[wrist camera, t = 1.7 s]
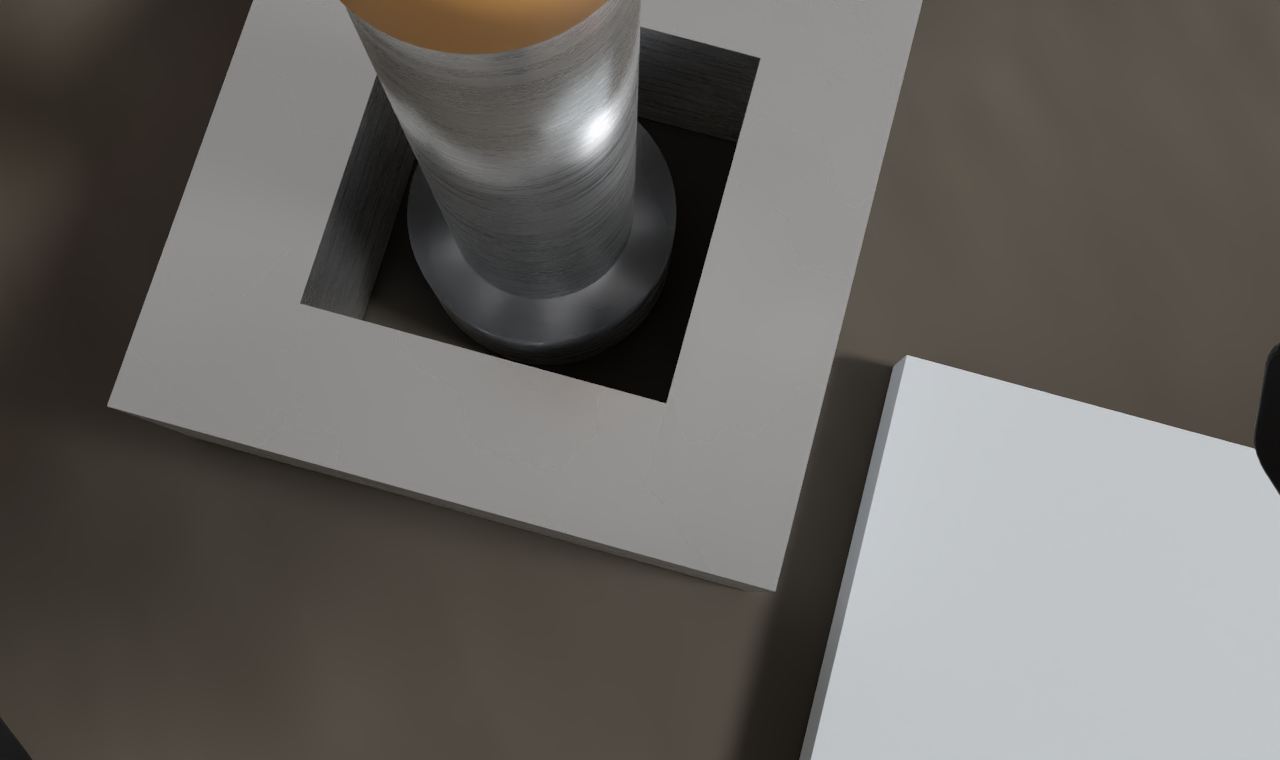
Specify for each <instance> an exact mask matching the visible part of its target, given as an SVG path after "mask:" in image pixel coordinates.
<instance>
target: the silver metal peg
mask: <svg viewBox="0 0 1280 760" xmlns="http://www.w3.org/2000/svg"><path fill="white" fill-rule="evenodd" d="M340 1H341V3H343V4H344V5H345V7H346V9H347V12H348V14H349V16H350V18H351V20H352V22H353V24H354V27H355V29H356V31H357V33H358V35H359V37H360V39H361V41H362V44H363V46H364V48H365V50H366V52H367V54H368V56H369V59H370V61H371V63H372V65H373V67H374V69H375V71H376V73H377V76H378V78H379V80H380V82H381V84H382V86H383V88H384V91H385V93H386V95H387V97H388V99H389V101H390V103H391V105H392V108H393V110H394V112H395V114H396V116H397V118H398V120H399V123H400V125H401V127H402V129H403V131H404V133H405V135H406V137H407V140H408V142H409V144H410V146H411V148H412V150H413V152H414V155H415V157H416V159H417V161H418V165H417V167H416V170H415V172H414V175H413V178H412V182H411V186H410V190H409V197H408V206H407V221H408V231H409V237H410V243H411V246H412V249H413V252H414V256H415V259H416V261H417V263H418V265H419V267H420V269H421V272H422V274H423V275H424V277H425V279H426V280H427V282H428V283H429V285H430V287H431V288H432V290H433V292H434V293H435V295H436V296H437V298H438V300H439V301H440V303H441V304H442V306H443V308H444V309H445V311H446V312H447V314H448V315H449V317H450V318H451V319H452V320H453V322H454V323H455V324H456V325H457V326H458V327H459V328H460V330H462V331H463V332H464V333H465V334H466V335H467V336H468V337H470V338H471V339H472V340H473V341H475V342H476V343H478V344H479V345H481V346H482V347H484V348H485V349H487V350H489V351H491V352H493V353H495V354H497V355H499V356H502V357H505V358H508V359H511V360H513V361H517V362H522V363H527V364H535V365H563V364H568V363H574V362H579V361H582V360H585V359H588V358H592V357H595V356H597V355H599V354H601V353H603V352H605V351H607V350H609V349H611V348H613V347H614V346H616V345H617V344H619V343H620V342H622V341H623V340H625V339H626V338H627V337H628V336H629V335H630V334H632V333H633V332H634V331H635V330H636V329H637V328H638V327H639V326H640V325H641V324H642V322H643V321H644V320H645V319H646V318H647V316H648V315H649V313H650V312H651V311H652V309H653V308H654V306H655V304H656V303H657V301H658V299H659V297H660V295H661V293H662V290H663V287H664V285H665V282H666V279H667V275H668V270H669V266H670V260H671V254H672V247H673V241H674V234H675V226H676V197H675V191H674V186H673V181H672V177H671V174H670V171H669V169H668V166H667V163H666V161H665V159H664V157H663V155H662V153H661V151H660V149H659V147H658V146H657V144H656V143H655V142H654V140H653V139H652V137H651V136H650V134H649V133H648V132H647V131H646V130H645V129H644V128H643V127H642V125H641V124H640V123H639V122H638V121H637V107H638V79H639V51H640V24H641V0H340Z"/></svg>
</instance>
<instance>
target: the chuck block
mask: <svg viewBox="0 0 1280 760" xmlns="http://www.w3.org/2000/svg"><path fill="white" fill-rule="evenodd" d="M922 1H923V0H641V24H640V51H639V79H638V107H637V116H638V117H642V118H645V119H649V120H653V121H657V122H661V123H664V124H668V125H672V126H676V127H679V128H683V129H687V130H691V131H694V132H698V133H702V134H706V135H710V136H713V137H717V138H721V139H725V140H728V141H732V142H736V143H737V147H736V150H735V154H734V158H733V161H732V165H731V169H730V172H729V176H728V180H727V183H726V187H725V190H724V194H723V198H722V201H721V205H720V209H719V212H718V216H717V220H716V223H715V227H714V231H713V234H712V238H711V242H710V245H709V249H708V253H707V256H706V260H705V264H704V267H703V271H702V275H701V278H700V282H699V286H698V289H697V293H696V297H695V300H694V304H693V308H692V311H691V315H690V319H689V322H688V326H687V330H686V333H685V337H684V340H683V344H682V348H681V351H680V355H679V359H678V362H677V366H676V370H675V373H674V377H673V381H672V384H671V388H670V392H669V395H668V399H667V403H663V402H659V401H655V400H652V399H648V398H644V397H641V396H637V395H633V394H630V393H626V392H622V391H619V390H615V389H611V388H608V387H604V386H600V385H597V384H593V383H589V382H586V381H582V380H578V379H575V378H571V377H567V376H564V375H560V374H556V373H553V372H549V371H545V370H542V369H538V368H534V367H531V366H527V365H523V364H520V363H516V362H512V361H509V360H505V359H501V358H498V357H494V356H490V355H487V354H483V353H479V352H476V351H472V350H468V349H465V348H461V347H457V346H454V345H450V344H446V343H443V342H439V341H435V340H432V339H428V338H425V337H421V336H417V335H414V334H410V333H406V332H403V331H399V330H395V329H392V328H388V327H384V326H381V325H377V324H373V323H370V322H366V321H363V318H364V315H365V312H366V309H367V306H368V303H369V300H370V297H371V294H372V291H373V288H374V284H375V281H376V278H377V275H378V272H379V269H380V266H381V263H382V260H383V257H384V254H385V251H386V248H387V244H388V241H389V238H390V235H391V232H392V229H393V226H394V223H395V220H396V217H397V214H398V211H399V208H400V204H401V201H402V198H403V195H404V192H405V189H406V186H407V183H408V180H409V177H410V174H411V171H412V168H413V164H414V161H415V158H416V157H415V155H414V152H413V150H412V148H411V146H410V144H409V142H408V140H407V137H406V135H405V133H404V131H403V129H402V127H401V125H400V123H399V120H398V118H397V116H396V114H395V112H394V110H393V108H392V105H391V103H390V101H389V99H388V97H387V95H386V93H385V91H384V88H383V86H382V84H381V82H380V80H379V78H378V76H377V73H376V71H375V69H374V67H373V65H372V63H371V61H370V59H369V56H368V54H367V52H366V50H365V48H364V46H363V44H362V41H361V39H360V37H359V35H358V33H357V31H356V29H355V27H354V24H353V22H352V20H351V18H350V16H349V14H348V12H347V9H346V7H345V5H344V4H343V3H341V1H340V0H253V2H252V5H251V8H250V11H249V13H248V16H247V19H246V22H245V25H244V27H243V30H242V33H241V36H240V38H239V41H238V44H237V47H236V50H235V52H234V55H233V58H232V61H231V63H230V66H229V69H228V72H227V74H226V77H225V80H224V83H223V86H222V88H221V91H220V94H219V97H218V99H217V102H216V105H215V108H214V111H213V113H212V116H211V119H210V122H209V124H208V127H207V130H206V133H205V136H204V138H203V141H202V144H201V147H200V149H199V152H198V155H197V158H196V160H195V163H194V166H193V169H192V172H191V174H190V177H189V180H188V183H187V185H186V188H185V191H184V194H183V197H182V199H181V202H180V205H179V208H178V210H177V213H176V216H175V219H174V221H173V224H172V227H171V230H170V233H169V235H168V238H167V241H166V244H165V246H164V249H163V252H162V255H161V258H160V260H159V263H158V266H157V269H156V271H155V274H154V277H153V280H152V282H151V285H150V288H149V291H148V294H147V296H146V299H145V302H144V305H143V307H142V310H141V313H140V316H139V319H138V321H137V324H136V327H135V330H134V332H133V335H132V338H131V341H130V343H129V346H128V349H127V352H126V355H125V357H124V360H123V363H122V366H121V368H120V371H119V374H118V377H117V380H116V382H115V385H114V388H113V391H112V393H111V396H110V399H109V402H108V404H107V406H108V407H110V408H113V409H116V410H119V411H121V412H124V413H127V414H130V415H132V416H135V417H138V418H141V419H143V420H146V421H149V422H152V423H154V424H157V425H160V426H163V427H165V428H168V429H171V430H174V431H176V432H179V433H182V434H185V435H187V436H190V437H193V438H196V439H200V440H204V441H207V442H211V443H214V444H218V445H222V446H225V447H229V448H232V449H236V450H240V451H243V452H247V453H250V454H254V455H258V456H261V457H265V458H268V459H272V460H276V461H279V462H283V463H286V464H290V465H294V466H297V467H301V468H304V469H308V470H312V471H315V472H319V473H322V474H326V475H330V476H333V477H337V478H341V479H344V480H348V481H351V482H355V483H359V484H362V485H366V486H369V487H373V488H377V489H380V490H384V491H387V492H391V493H395V494H398V495H402V496H405V497H409V498H413V499H416V500H420V501H423V502H427V503H431V504H434V505H438V506H441V507H445V508H449V509H452V510H456V511H459V512H463V513H467V514H470V515H474V516H477V517H481V518H485V519H488V520H492V521H496V522H499V523H503V524H506V525H510V526H514V527H517V528H521V529H524V530H528V531H532V532H535V533H539V534H542V535H546V536H550V537H553V538H557V539H560V540H564V541H568V542H571V543H575V544H578V545H582V546H586V547H589V548H593V549H596V550H600V551H604V552H607V553H611V554H614V555H618V556H622V557H625V558H629V559H632V560H636V561H640V562H643V563H647V564H650V565H654V566H658V567H661V568H665V569H669V570H672V571H676V572H679V573H683V574H687V575H690V576H694V577H697V578H701V579H705V580H708V581H712V582H715V583H719V584H723V585H726V586H730V587H733V588H737V589H741V590H744V591H748V592H775V591H776V587H777V583H778V579H779V575H780V571H781V567H782V563H783V559H784V555H785V551H786V547H787V543H788V539H789V535H790V531H791V527H792V523H793V519H794V515H795V511H796V507H797V503H798V499H799V495H800V491H801V487H802V483H803V479H804V475H805V471H806V467H807V463H808V459H809V455H810V451H811V446H812V442H813V438H814V434H815V430H816V426H817V422H818V418H819V414H820V410H821V406H822V402H823V398H824V394H825V390H826V386H827V382H828V378H829V374H830V370H831V366H832V362H833V358H834V354H835V350H836V346H837V342H838V338H839V334H840V330H841V326H842V322H843V318H844V314H845V310H846V306H847V302H848V298H849V294H850V290H851V286H852V282H853V278H854V274H855V270H856V266H857V262H858V258H859V254H860V250H861V246H862V242H863V238H864V234H865V230H866V226H867V222H868V218H869V214H870V209H871V205H872V201H873V197H874V193H875V189H876V185H877V181H878V177H879V173H880V169H881V165H882V161H883V157H884V153H885V149H886V145H887V141H888V137H889V133H890V129H891V125H892V121H893V117H894V113H895V109H896V105H897V101H898V97H899V93H900V89H901V85H902V81H903V77H904V73H905V69H906V65H907V61H908V57H909V53H910V49H911V45H912V41H913V37H914V33H915V29H916V25H917V21H918V17H919V13H920V9H921V5H922Z"/></svg>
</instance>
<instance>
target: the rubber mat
mask: <svg viewBox="0 0 1280 760" xmlns="http://www.w3.org/2000/svg"><path fill="white" fill-rule="evenodd" d="M799 760H1280V495H1279V494H1278V492H1277V490H1276V489H1275V487H1274V486H1273V484H1272V483H1271V481H1270V479H1269V478H1268V476H1267V475H1266V473H1265V472H1264V470H1263V468H1262V466H1261V464H1260V462H1259V459H1258V457H1257V454H1256V450H1255V449H1253V448H1250V447H1246V446H1242V445H1238V444H1235V443H1231V442H1227V441H1224V440H1220V439H1216V438H1213V437H1209V436H1205V435H1201V434H1198V433H1194V432H1190V431H1187V430H1183V429H1179V428H1175V427H1172V426H1168V425H1164V424H1161V423H1157V422H1153V421H1149V420H1146V419H1142V418H1138V417H1135V416H1131V415H1127V414H1124V413H1120V412H1116V411H1112V410H1109V409H1105V408H1101V407H1098V406H1094V405H1090V404H1086V403H1083V402H1079V401H1075V400H1072V399H1068V398H1064V397H1061V396H1057V395H1053V394H1049V393H1046V392H1042V391H1038V390H1035V389H1031V388H1027V387H1023V386H1020V385H1016V384H1012V383H1009V382H1005V381H1001V380H998V379H994V378H990V377H986V376H983V375H979V374H975V373H972V372H968V371H964V370H960V369H957V368H953V367H949V366H946V365H942V364H938V363H935V362H931V361H927V360H923V359H920V358H916V357H912V356H909V355H906V356H905V357H904V358H903V359H902V360H900V361H899V362H898V363H897V364H896V365H894V366H893V370H892V374H891V379H890V383H889V387H888V391H887V395H886V399H885V404H884V408H883V412H882V416H881V420H880V425H879V429H878V433H877V437H876V441H875V445H874V450H873V454H872V458H871V462H870V466H869V470H868V475H867V479H866V483H865V487H864V491H863V496H862V500H861V504H860V508H859V512H858V516H857V521H856V525H855V529H854V533H853V537H852V542H851V546H850V550H849V554H848V558H847V562H846V567H845V571H844V575H843V579H842V583H841V588H840V592H839V596H838V600H837V604H836V608H835V613H834V617H833V621H832V625H831V629H830V634H829V638H828V642H827V646H826V650H825V654H824V659H823V663H822V667H821V671H820V675H819V680H818V684H817V688H816V692H815V696H814V700H813V705H812V709H811V713H810V717H809V721H808V725H807V730H806V734H805V738H804V742H803V746H802V751H801V755H800V759H799Z"/></svg>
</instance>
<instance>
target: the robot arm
mask: <svg viewBox="0 0 1280 760" xmlns="http://www.w3.org/2000/svg"><path fill="white" fill-rule="evenodd" d="M1254 446H1255V450H1256V454H1257V457H1258V459H1259V462H1260V464H1261V466H1262V468H1263V470H1264V472H1265V473H1266V475H1267V476H1268V478H1269V479H1270V481H1271V483H1272V484H1273V486H1274V487H1275V489H1276V490H1277V492H1278V494H1279V495H1280V343H1279V344H1278V345H1276V346H1275V347H1274V348H1273V349H1272V351H1271V352H1270V354H1269V355H1268V358H1267V361H1266V365H1265V371H1264V377H1263V382H1262V388H1261V394H1260V399H1259V405H1258V411H1257V416H1256V422H1255V428H1254ZM0 760H32V759H31V757H30V755H29V754H28V753H27V752H26V750H25V749H24V748H23V746H22V745H21V744H20V742H19V741H18V740H17V738H16V737H15V736H14V734H13V733H12V732H11V731H10V729H9V728H8V727H7V725H6V724H5V723H4V721H3V720H2V719H1V717H0Z"/></svg>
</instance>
